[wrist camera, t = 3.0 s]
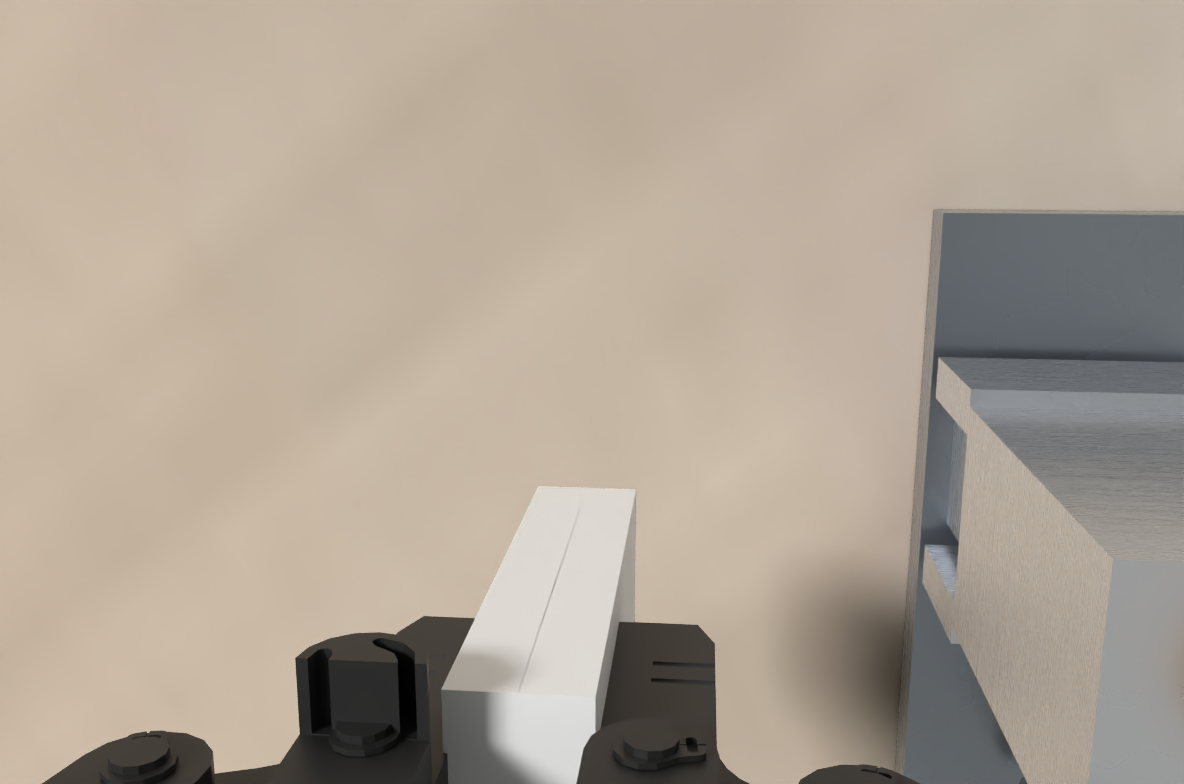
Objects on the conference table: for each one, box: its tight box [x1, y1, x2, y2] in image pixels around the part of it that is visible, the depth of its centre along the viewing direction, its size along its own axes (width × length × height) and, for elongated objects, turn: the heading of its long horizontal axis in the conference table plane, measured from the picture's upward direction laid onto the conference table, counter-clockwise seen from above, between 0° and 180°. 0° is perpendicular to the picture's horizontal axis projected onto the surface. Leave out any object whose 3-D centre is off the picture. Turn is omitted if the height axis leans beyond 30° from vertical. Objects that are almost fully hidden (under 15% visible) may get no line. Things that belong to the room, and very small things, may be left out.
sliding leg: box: [922, 357, 1184, 784], centre depth 17 cm, size 5×9×11 cm, turn 0°
